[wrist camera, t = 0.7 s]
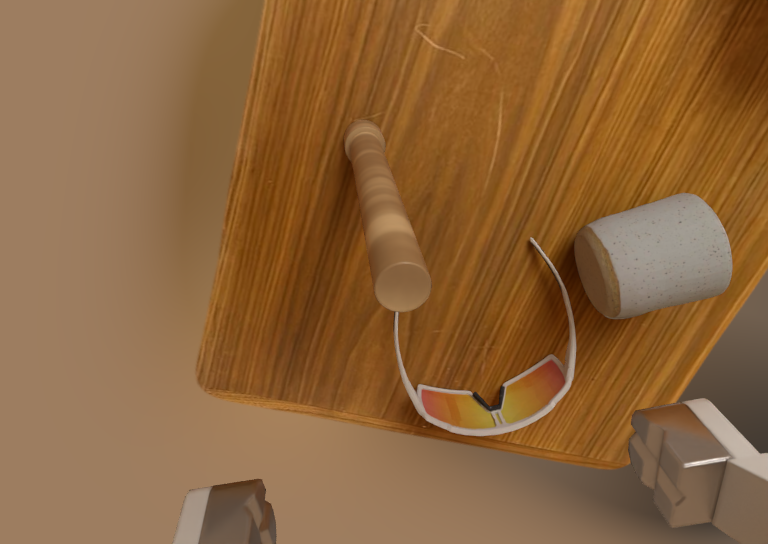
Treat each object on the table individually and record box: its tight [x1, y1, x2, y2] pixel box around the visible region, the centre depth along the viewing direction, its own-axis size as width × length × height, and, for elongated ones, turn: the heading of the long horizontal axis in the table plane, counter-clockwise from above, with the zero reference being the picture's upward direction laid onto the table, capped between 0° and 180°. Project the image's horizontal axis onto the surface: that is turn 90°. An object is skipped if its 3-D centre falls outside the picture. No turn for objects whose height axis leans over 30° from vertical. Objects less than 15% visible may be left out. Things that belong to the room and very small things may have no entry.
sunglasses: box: [394, 238, 576, 436], centre depth 43 cm, size 14×15×5 cm
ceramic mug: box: [574, 193, 732, 319], centre depth 39 cm, size 11×8×8 cm
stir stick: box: [344, 120, 432, 312], centre depth 27 cm, size 3×3×20 cm
